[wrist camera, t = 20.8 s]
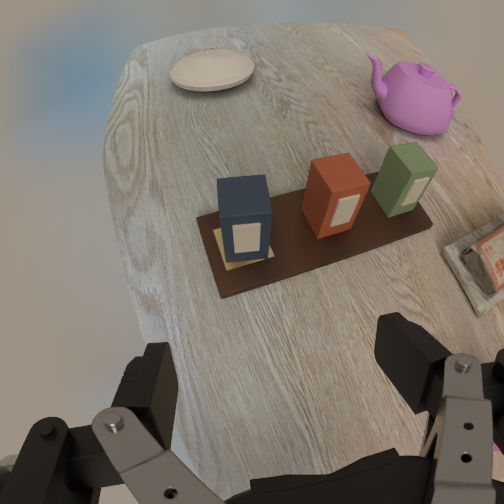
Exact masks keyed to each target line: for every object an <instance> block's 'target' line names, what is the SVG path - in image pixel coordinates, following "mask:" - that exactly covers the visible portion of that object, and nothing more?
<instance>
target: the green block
mask: <svg viewBox="0 0 504 504" xmlns="http://www.w3.org/2000/svg"><path fill="white" fill-rule="evenodd" d="M437 169H438V167H437V166H436V165H435V163H434V162H433V161H432V160H431V158H430V157H429V156H428V155H427V154H426V152H425V151H424V150H423V149H422V148H421V147H420V145H419V144H418V143H417V142H412V143H405V144H398V145H392V146H390V147H389V149H388V152H387V154H386V156H385V159H384V161H383V164H382V166H381V168H380V171H379V173H378V175H377V178H376V180H375V182H374V185H373V187H372V189H371V192H372V194H373V195H374V197H375V198H376V200H377V201H378V203H379V204H380V206H381V207H382V209H383V211H384V212H385V214H386V215H387V217H388V218H389V217H392V216H395V215H398V214H402V213H405V212H408V211H411V210H413V209H414V208H415V206H416V204H417V203H418V201H419V200H420V198H421V196H422V195H423V193H424V191H425V190H426V188H427V186H428V185H429V183H430V181H431V180H432V178H433V176H434V175H435V173H436V171H437Z"/></svg>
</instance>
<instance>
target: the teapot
mask: <svg viewBox="0 0 504 504" xmlns="http://www.w3.org/2000/svg"><path fill="white" fill-rule="evenodd" d="M365 54H366V55H367V56H368V57H369V58H370V60H371V62H372V64H373V72H372V78H371V86H372V90H373V92H374V93H375V95H376V96H377V98H378V102H379V105H380V107H381V110H382V112H383V114H384V116H385V117H386V118H387V120H388V121H390V122H391V123H392V124H394V125H395V126H397V127H399V128H402V129H404V130H407V131H410V132H413V133H416V134H421V135H437V134H440V133H442V132H444V131H445V130H446V129H447V128H448V126H449V123H450V120H451V119H453V117H454V112H453V110H452V109H453V108H454V107H455V106H456V105H457V104H458V102H459V101H460V98H461V93H460V91H459V89H458V88H457V87H456V86H455V85H453V84H451V83H447V82H446V81H445V79H444V78H443V77H442V76H441V75H440V74H439V73H437V72H436V71H435V69H434V68H433V67H431V66H430V65H428V64H425V63H420V64H416V63H412V62H406V61H400V62H398V63H397V64H395V65H394V66H393V67H392V68H391V69H390V70H389V71H388V72H387V73H386V74H385V75H384V77H383V78H382V64H381V61H380V60H379V59H378V58H377V57H375V56H373V55H371V54H368V53H365ZM451 89H452V90H454V91H456V94H455V96H454V97H453V99H452V94H451Z"/></svg>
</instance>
